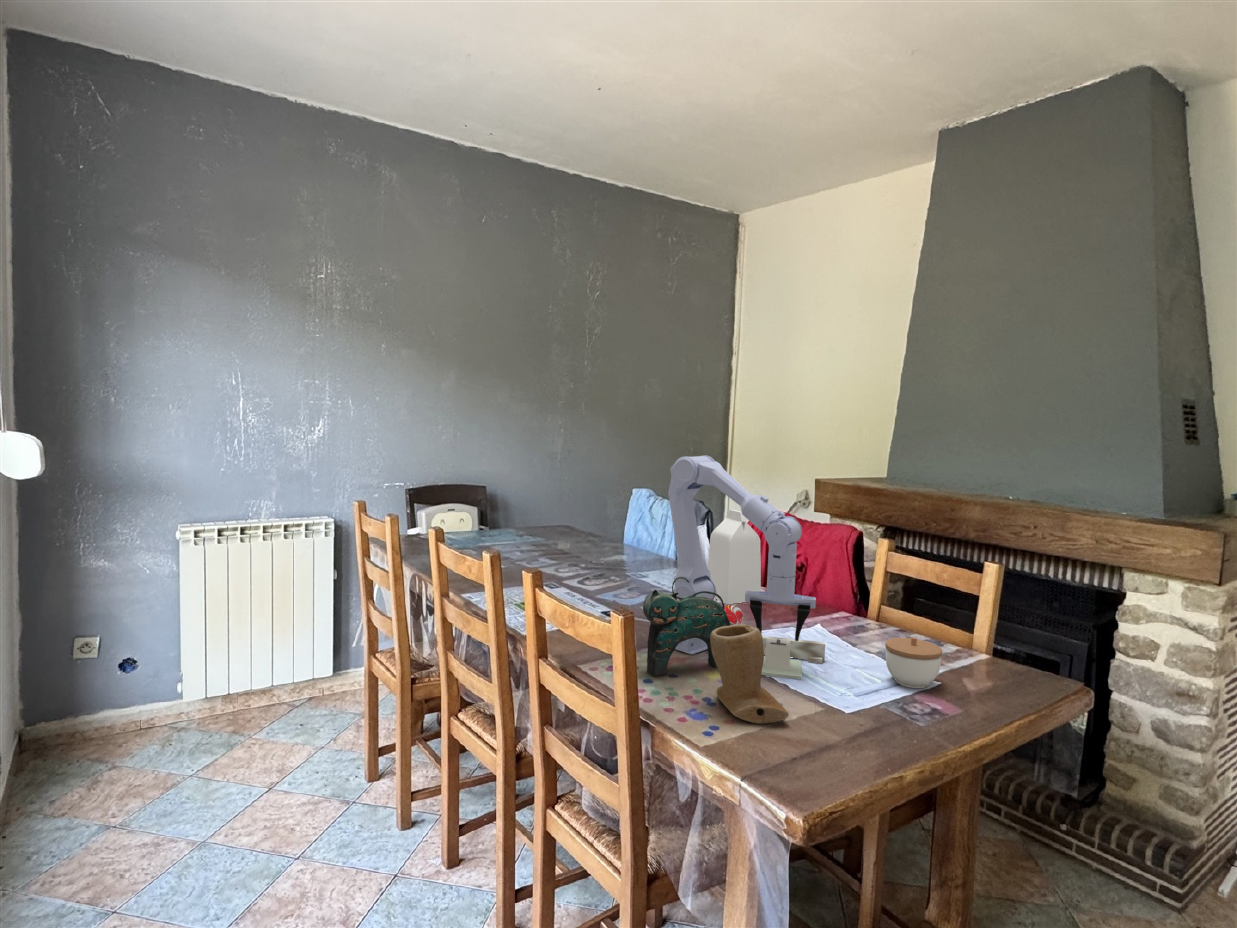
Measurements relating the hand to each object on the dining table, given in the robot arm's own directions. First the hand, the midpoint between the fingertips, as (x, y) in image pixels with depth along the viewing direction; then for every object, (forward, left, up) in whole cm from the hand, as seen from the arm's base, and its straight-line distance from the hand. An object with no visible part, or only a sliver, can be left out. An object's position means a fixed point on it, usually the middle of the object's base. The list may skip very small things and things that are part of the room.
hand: (778, 637), depth 149 cm
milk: (+41, +40, -7) cm, 58 cm away
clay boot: (-23, -7, -7) cm, 25 cm away
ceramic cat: (-15, +13, -7) cm, 21 cm away
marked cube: (0, 0, -6) cm, 6 cm away
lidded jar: (+14, -23, -7) cm, 28 cm away
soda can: (+13, +21, -3) cm, 25 cm away
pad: (0, 0, -7) cm, 7 cm away
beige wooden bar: (+7, +4, -7) cm, 10 cm away
